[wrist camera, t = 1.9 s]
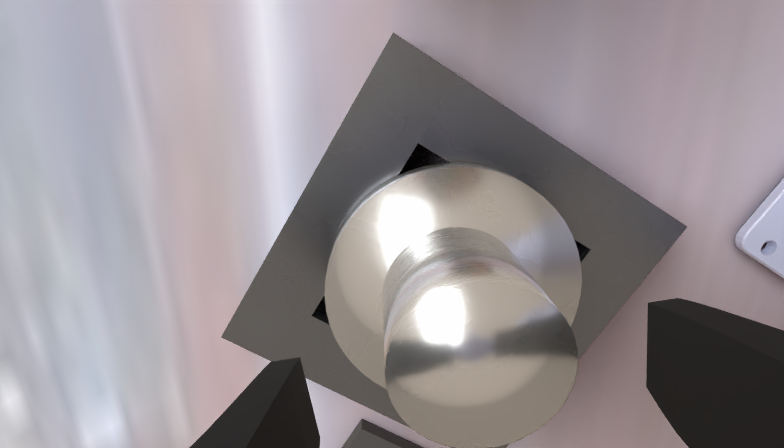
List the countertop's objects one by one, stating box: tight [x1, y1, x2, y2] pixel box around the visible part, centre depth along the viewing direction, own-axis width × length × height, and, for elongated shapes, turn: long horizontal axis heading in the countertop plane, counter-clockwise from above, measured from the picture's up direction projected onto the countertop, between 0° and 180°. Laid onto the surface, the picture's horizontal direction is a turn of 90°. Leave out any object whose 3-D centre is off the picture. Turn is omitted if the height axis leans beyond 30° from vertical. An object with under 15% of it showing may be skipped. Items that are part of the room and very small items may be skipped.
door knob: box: [325, 162, 582, 448], centre depth 12 cm, size 7×7×6 cm
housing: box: [222, 33, 687, 448], centre depth 14 cm, size 10×10×2 cm
